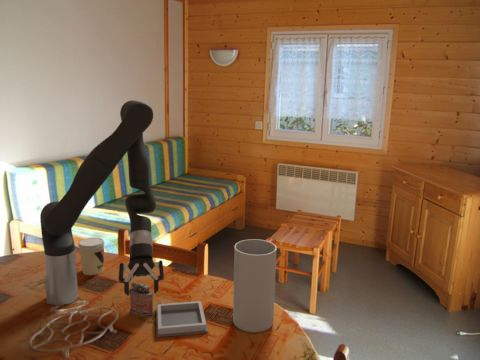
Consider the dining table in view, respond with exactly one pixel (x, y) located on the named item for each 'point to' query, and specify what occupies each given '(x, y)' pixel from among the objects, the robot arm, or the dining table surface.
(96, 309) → the dining table surface
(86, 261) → the coffee cup
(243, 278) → the cylinder vase
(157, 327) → the tray
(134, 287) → the lighter
